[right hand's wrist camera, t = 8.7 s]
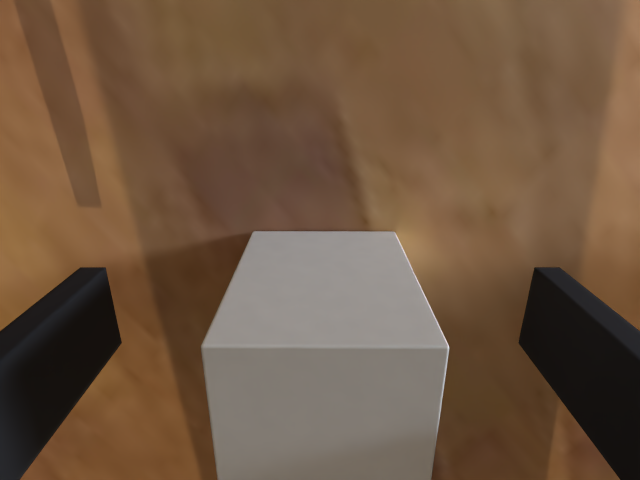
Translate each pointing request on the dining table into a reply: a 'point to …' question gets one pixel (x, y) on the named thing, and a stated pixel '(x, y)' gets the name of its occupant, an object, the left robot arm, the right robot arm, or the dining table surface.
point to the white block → (324, 362)
